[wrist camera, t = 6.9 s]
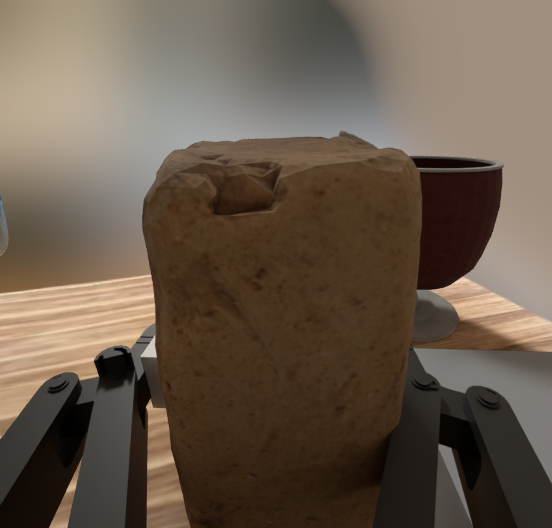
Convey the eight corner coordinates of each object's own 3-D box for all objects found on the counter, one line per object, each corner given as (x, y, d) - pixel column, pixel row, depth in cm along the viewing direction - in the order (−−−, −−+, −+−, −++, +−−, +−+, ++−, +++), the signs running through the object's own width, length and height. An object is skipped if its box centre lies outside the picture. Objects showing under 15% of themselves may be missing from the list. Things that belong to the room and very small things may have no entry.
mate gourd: (427, 281, 43) (459, 127, 35) (495, 345, 30) (570, 126, 22) (319, 285, 43) (326, 130, 35) (341, 350, 30) (360, 131, 22)
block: (376, 625, 13) (507, 140, 5) (204, 663, 13) (47, 153, 4) (314, 416, 23) (327, 133, 15) (215, 429, 22) (173, 137, 14)
